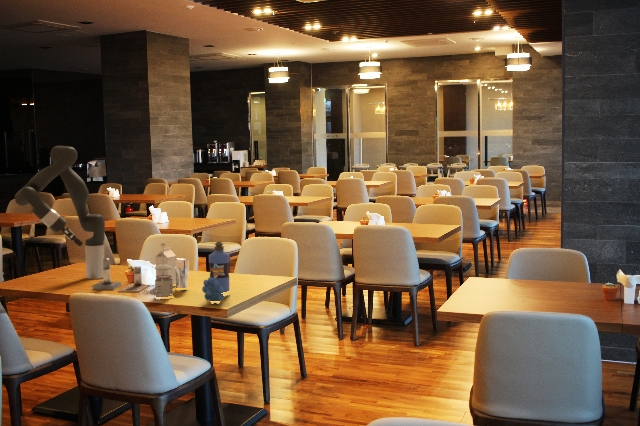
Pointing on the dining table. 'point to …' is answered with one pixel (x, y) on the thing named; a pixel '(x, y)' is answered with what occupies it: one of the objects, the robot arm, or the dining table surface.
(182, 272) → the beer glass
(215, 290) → the grapes
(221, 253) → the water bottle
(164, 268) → the french press
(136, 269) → the short bit
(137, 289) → the rack
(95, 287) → the socket block
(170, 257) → the milk carton
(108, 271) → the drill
